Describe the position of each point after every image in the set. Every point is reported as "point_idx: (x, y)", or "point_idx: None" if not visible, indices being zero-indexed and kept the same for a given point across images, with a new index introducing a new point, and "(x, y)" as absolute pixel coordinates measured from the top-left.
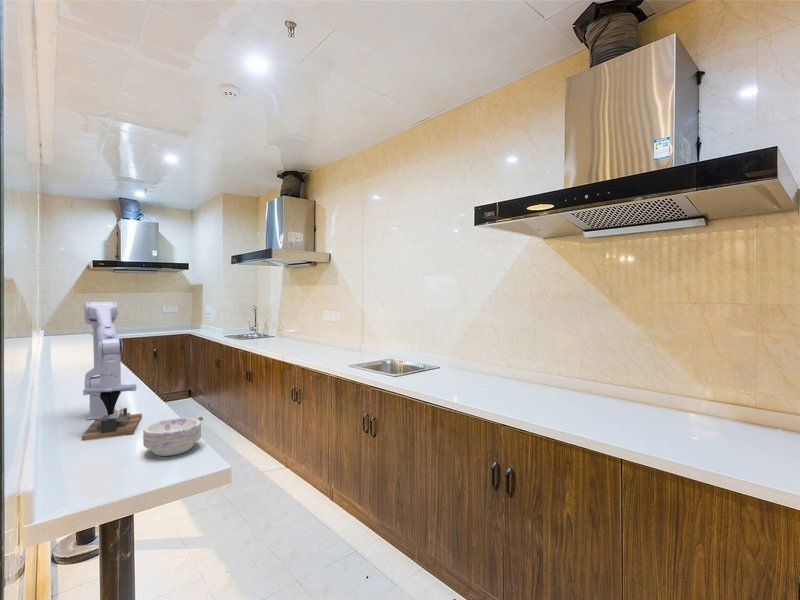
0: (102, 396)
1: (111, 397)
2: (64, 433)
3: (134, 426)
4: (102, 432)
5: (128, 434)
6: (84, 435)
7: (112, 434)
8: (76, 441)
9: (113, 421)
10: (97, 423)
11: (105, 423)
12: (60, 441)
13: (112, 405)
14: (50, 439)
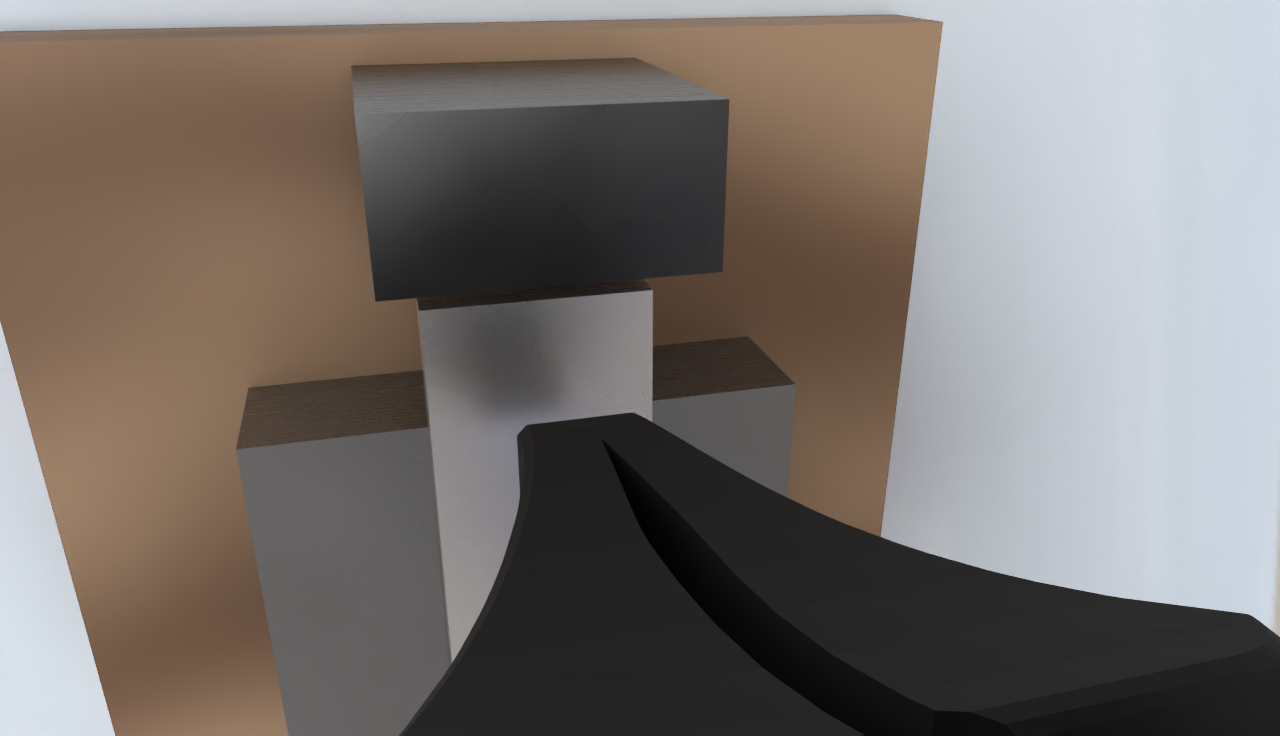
0: (1254, 667)
1: (707, 710)
2: (1116, 502)
3: (20, 329)
4: (612, 60)
5: (77, 30)
6: (902, 47)
7: (408, 31)
8: (964, 23)
9: (410, 99)
10: (788, 418)
11: (601, 91)
12: (1156, 135)
13: (566, 534)
14: (1254, 292)
